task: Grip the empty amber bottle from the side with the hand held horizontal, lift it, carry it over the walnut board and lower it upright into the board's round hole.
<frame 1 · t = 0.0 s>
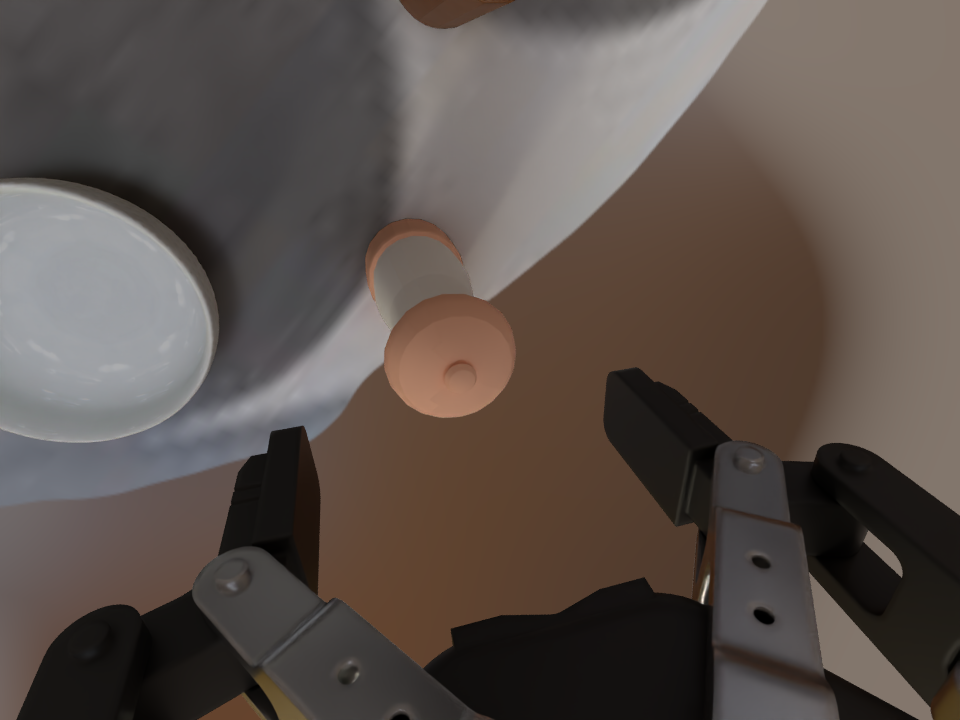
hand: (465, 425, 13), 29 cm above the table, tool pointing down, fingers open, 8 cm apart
pepper shaker: (411, 263, 41), on the table
cereal bowl: (102, 288, 37), on the table
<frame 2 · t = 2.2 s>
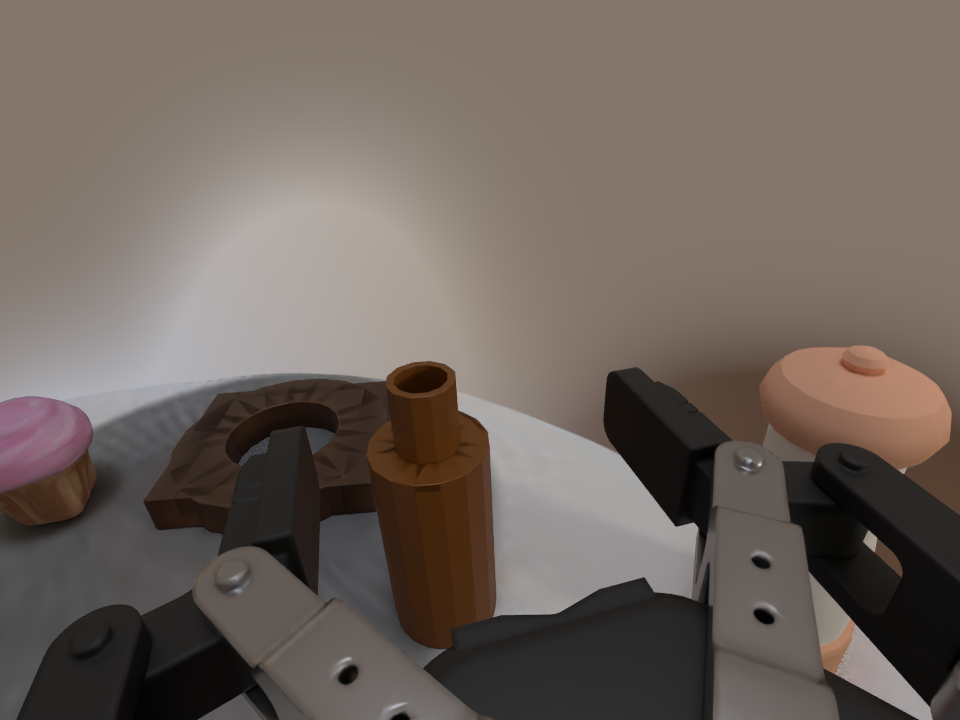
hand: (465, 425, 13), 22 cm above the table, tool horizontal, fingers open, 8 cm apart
pepper shaker: (763, 633, 31), on the table
board: (291, 458, 47), on the table
cupcake: (61, 509, 43), on the table
bottle: (446, 600, 34), on the table
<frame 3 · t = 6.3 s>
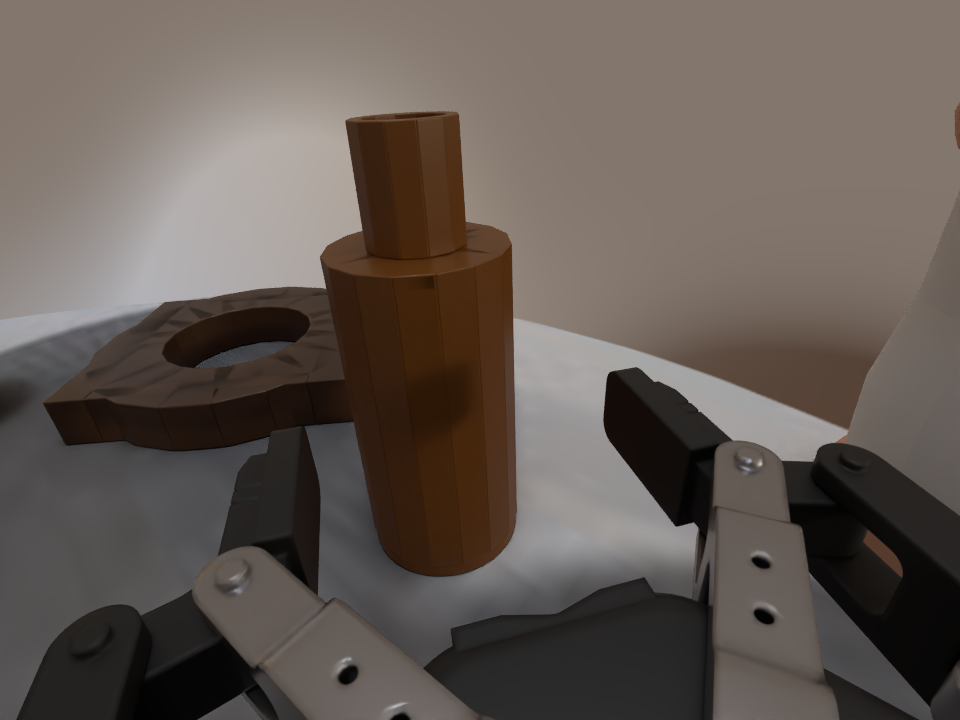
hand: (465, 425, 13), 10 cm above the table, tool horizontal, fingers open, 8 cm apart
pepper shaker: (905, 551, 21), on the table
board: (250, 370, 37), on the table
bottle: (447, 518, 24), on the table
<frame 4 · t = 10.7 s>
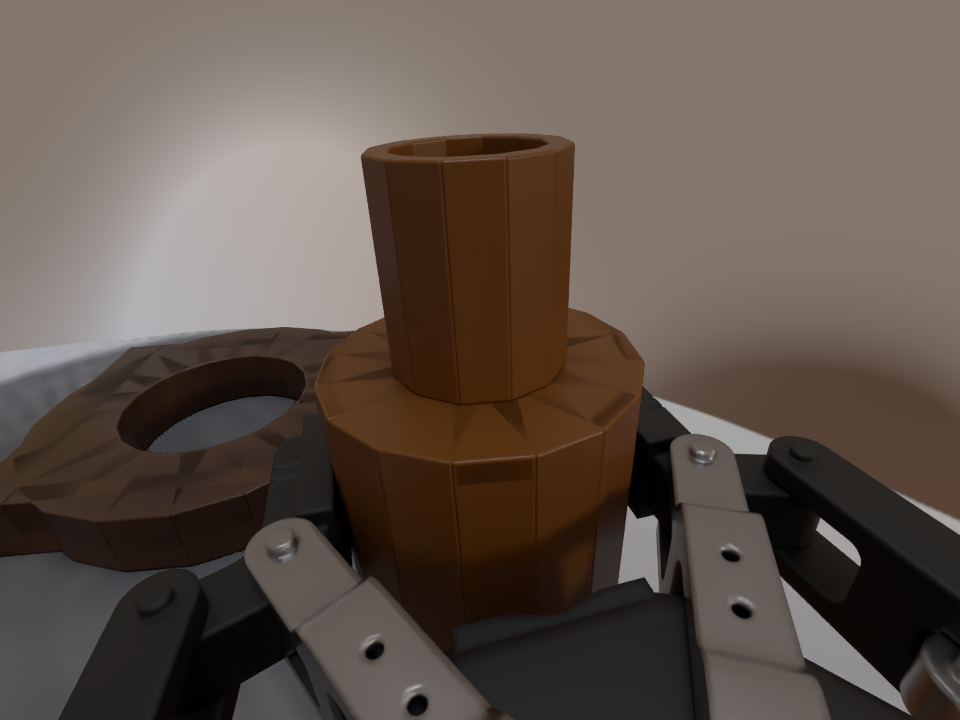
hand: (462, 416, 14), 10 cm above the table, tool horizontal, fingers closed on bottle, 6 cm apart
board: (231, 440, 30), on the table
bottle: (497, 708, 17), on the table, touching gripper
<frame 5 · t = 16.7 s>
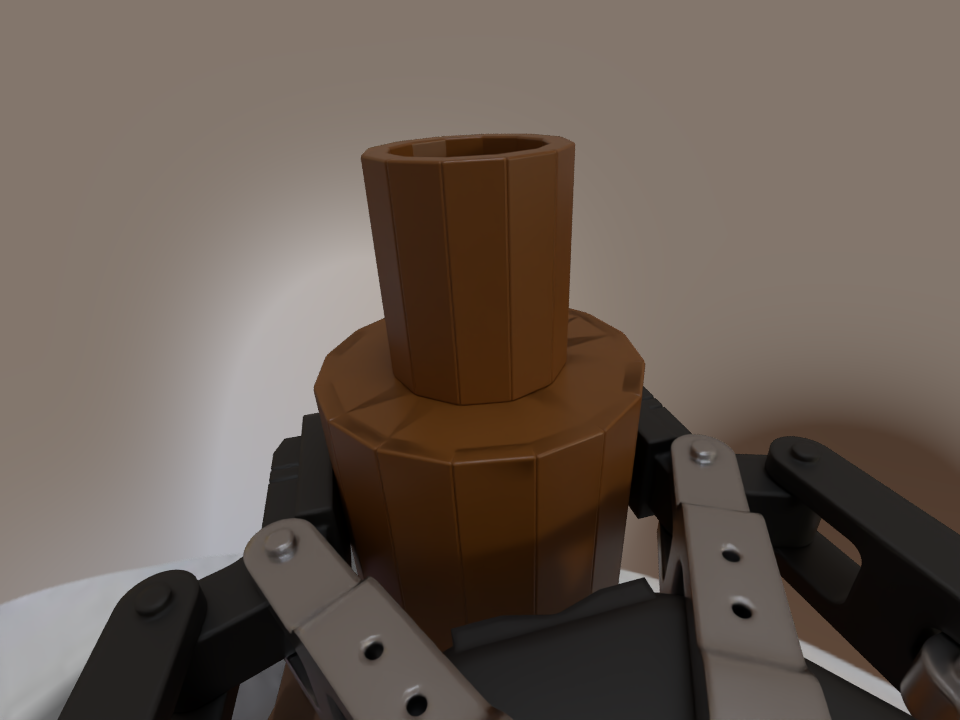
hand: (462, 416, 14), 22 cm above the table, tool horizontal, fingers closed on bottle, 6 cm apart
bottle: (498, 708, 17), point 12 cm above the table, touching gripper
when the fingers open (10 cm above the table, at t = 22.7 s): bottle stays where it is, resting in board.
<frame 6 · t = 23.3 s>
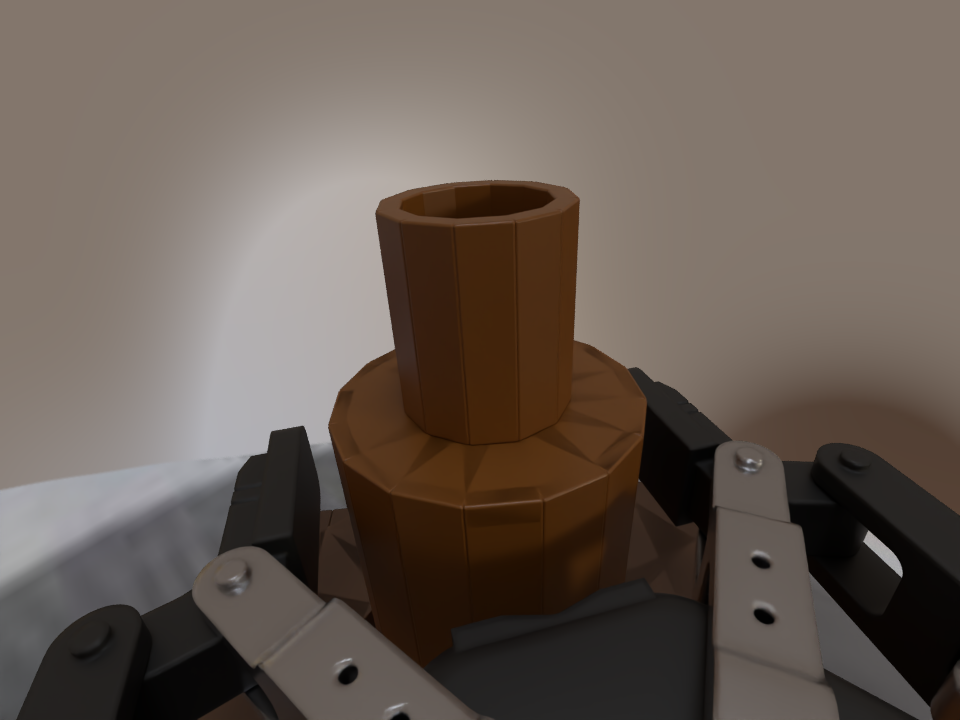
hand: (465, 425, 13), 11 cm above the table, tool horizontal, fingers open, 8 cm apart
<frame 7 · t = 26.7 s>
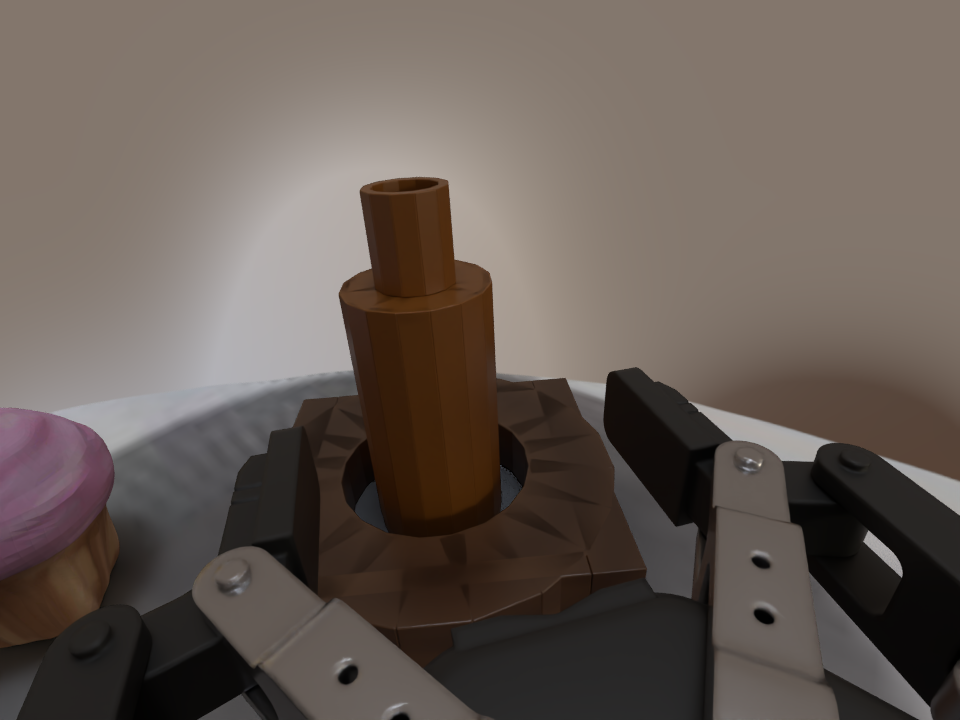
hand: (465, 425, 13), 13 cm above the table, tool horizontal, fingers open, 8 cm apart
board: (440, 506, 28), on the table
cupcake: (58, 606, 24), on the table
bottle: (442, 506, 28), resting in board
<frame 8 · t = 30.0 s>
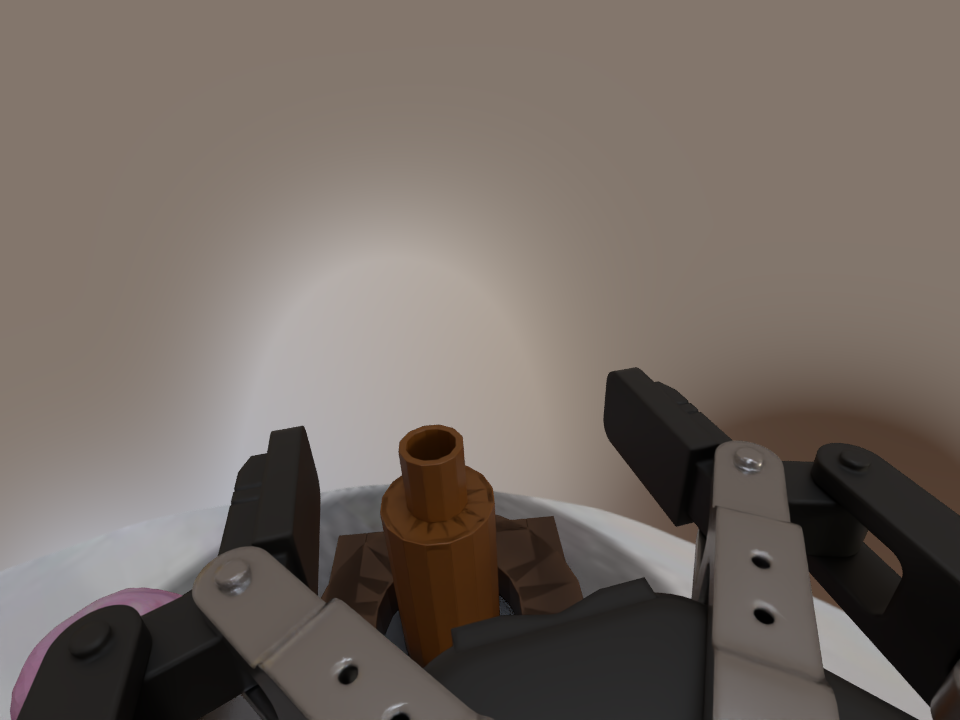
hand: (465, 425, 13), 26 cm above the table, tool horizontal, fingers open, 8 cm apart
board: (452, 639, 36), on the table
bottle: (454, 639, 36), resting in board
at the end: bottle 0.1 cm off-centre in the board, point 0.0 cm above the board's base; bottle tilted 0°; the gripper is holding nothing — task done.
